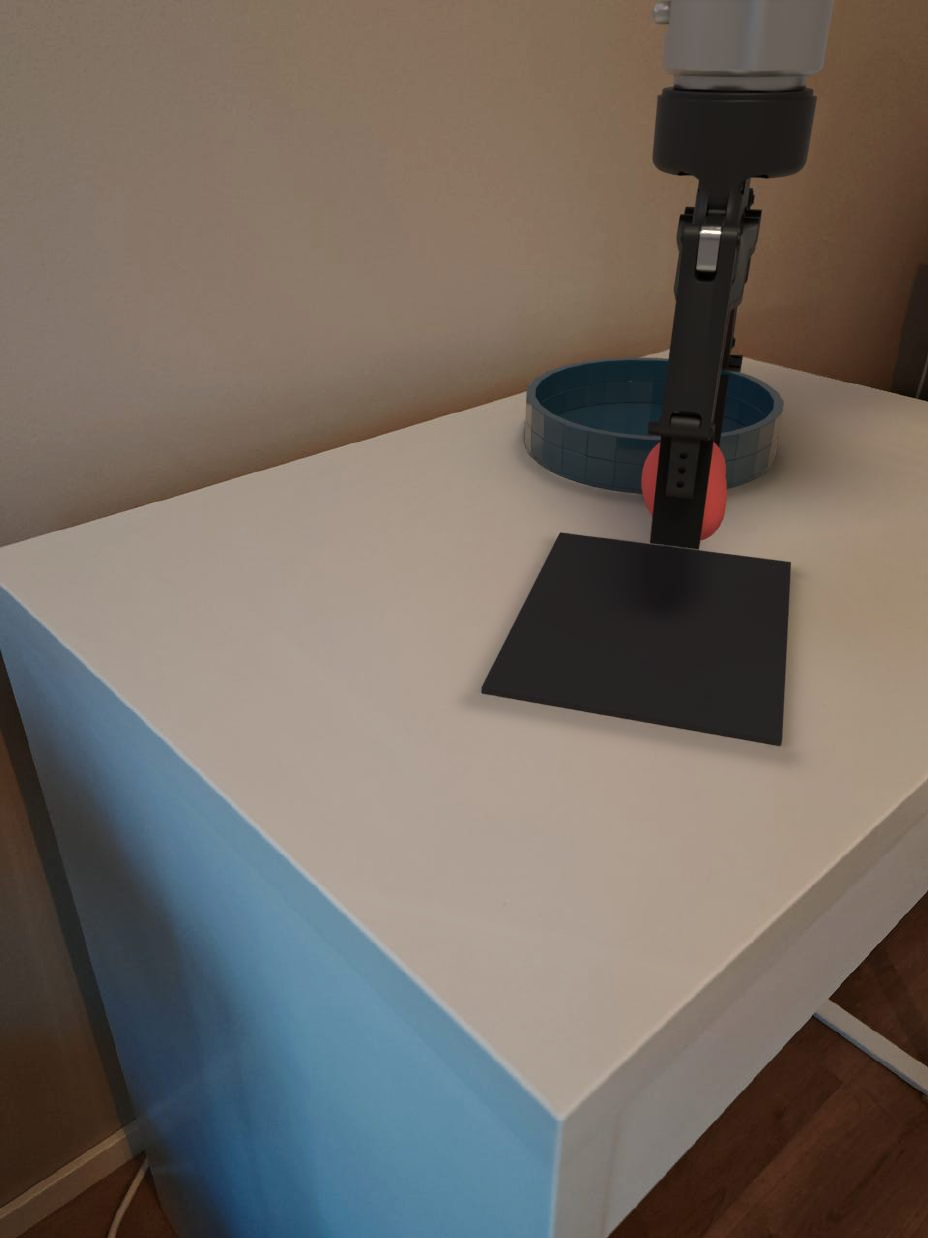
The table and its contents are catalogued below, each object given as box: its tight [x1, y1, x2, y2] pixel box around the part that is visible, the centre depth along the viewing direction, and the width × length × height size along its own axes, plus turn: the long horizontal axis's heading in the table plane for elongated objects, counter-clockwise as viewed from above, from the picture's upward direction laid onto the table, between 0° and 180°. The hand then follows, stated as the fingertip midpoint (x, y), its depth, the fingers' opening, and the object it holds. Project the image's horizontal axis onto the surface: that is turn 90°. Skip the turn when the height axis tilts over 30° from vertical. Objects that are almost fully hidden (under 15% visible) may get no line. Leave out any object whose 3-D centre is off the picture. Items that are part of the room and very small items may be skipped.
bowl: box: [524, 356, 785, 494], centre depth 84 cm, size 22×22×4 cm
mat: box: [481, 531, 792, 746], centre depth 59 cm, size 16×20×1 cm
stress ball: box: [641, 443, 728, 542], centre depth 57 cm, size 5×9×6 cm, turn 156°
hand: (685, 506), depth 58 cm, fingers closed on stress ball, 10 cm apart
